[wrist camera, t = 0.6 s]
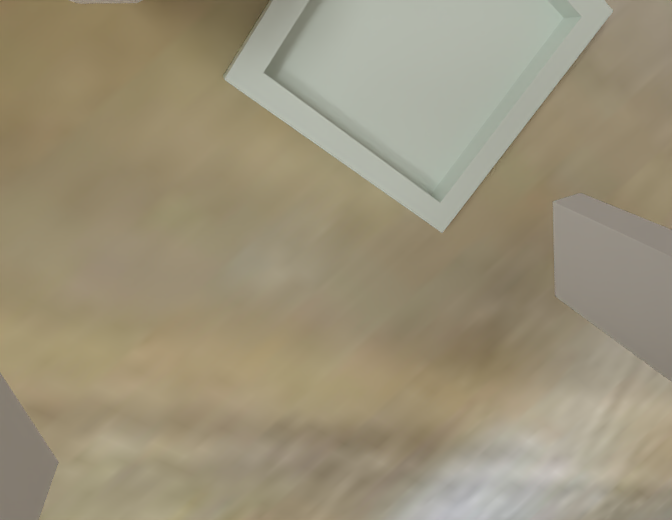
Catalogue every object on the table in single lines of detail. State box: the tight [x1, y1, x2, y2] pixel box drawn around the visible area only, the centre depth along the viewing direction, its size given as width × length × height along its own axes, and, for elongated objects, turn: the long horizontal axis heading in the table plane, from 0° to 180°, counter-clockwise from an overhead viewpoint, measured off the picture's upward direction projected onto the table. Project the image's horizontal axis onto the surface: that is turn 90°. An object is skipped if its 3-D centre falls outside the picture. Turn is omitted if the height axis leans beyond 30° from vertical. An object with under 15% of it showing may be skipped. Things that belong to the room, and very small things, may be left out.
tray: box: [223, 0, 613, 233], centre depth 31 cm, size 18×18×3 cm
